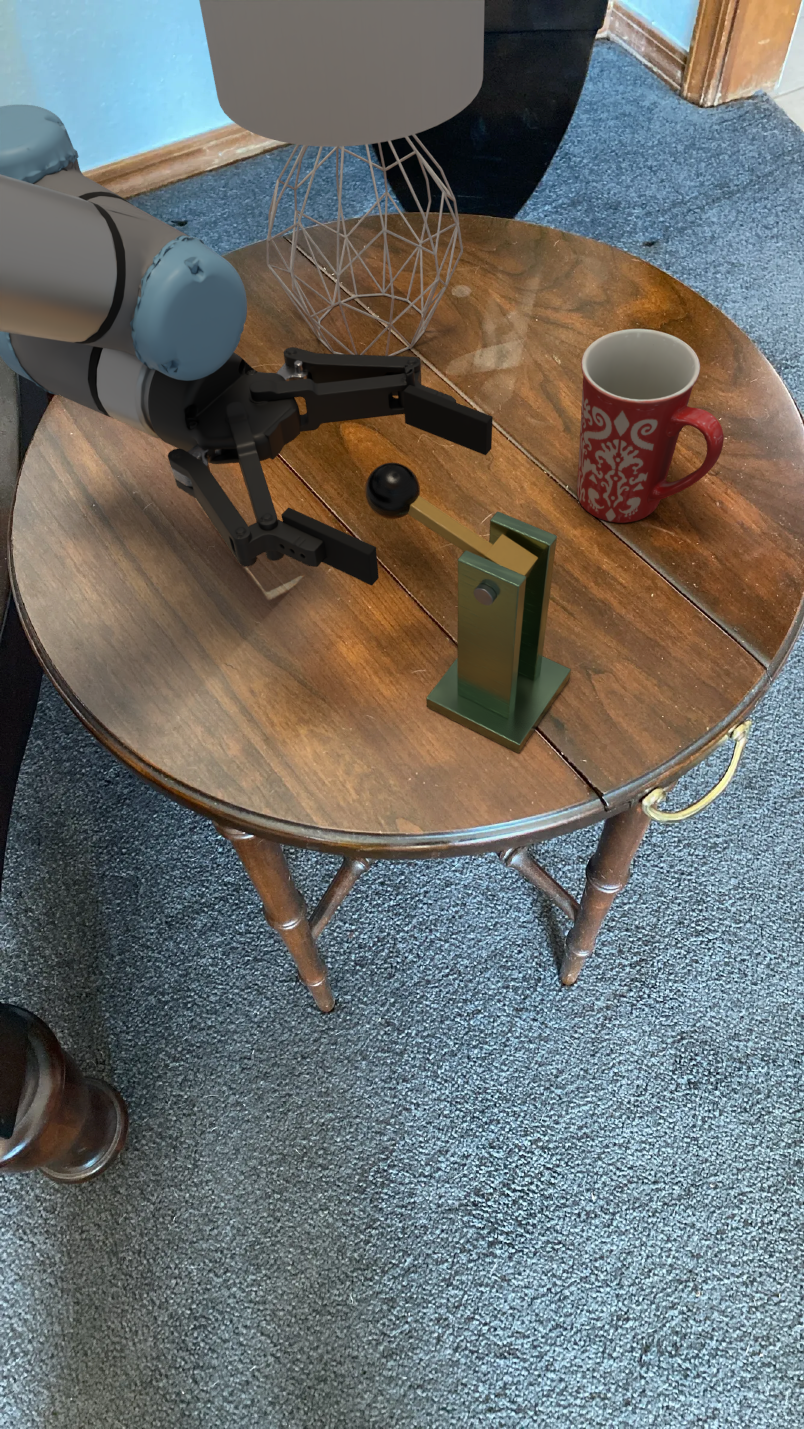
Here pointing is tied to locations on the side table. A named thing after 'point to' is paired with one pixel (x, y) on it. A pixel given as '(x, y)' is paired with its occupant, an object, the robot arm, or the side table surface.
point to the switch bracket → (502, 642)
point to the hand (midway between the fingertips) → (435, 498)
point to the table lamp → (348, 102)
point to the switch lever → (437, 517)
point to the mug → (637, 422)
